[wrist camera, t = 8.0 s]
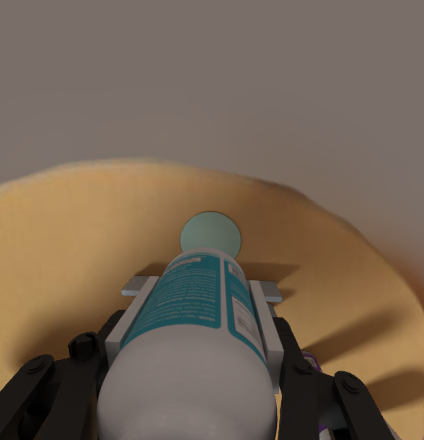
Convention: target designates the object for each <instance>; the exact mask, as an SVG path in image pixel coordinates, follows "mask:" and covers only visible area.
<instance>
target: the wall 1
mask: <svg viewBox="0 0 424 440" xmlns="http://www.w3.org/2000/svg"><path fill="white" fill-rule="evenodd" d="M149 277H150V276H133V277H132V278H131V280H130V281H129V282H128V283H127V284H126V285H125V287H124V288H123V289H122V290H121V291H122V295H126V296H137V294H138V293H139V291H140V290H141V289H142V287H143V286H144V284H145V283H146V281H147V280H148V279H149ZM160 278H161V277H159V280H160ZM246 282H247V286H248V290H249V280H246ZM259 283H260V286H261V288H262V291H263V294H264V297H265V300H266V302H282V298H283V297H282V295H281V293H280V291H279V289H278V287H277V285H276V283H275V281H259Z"/></svg>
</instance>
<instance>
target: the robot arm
mask: <svg viewBox="0 0 424 440" xmlns="http://www.w3.org/2000/svg"><path fill="white" fill-rule="evenodd" d="M158 282H159V276H150V277H149V279H148V280H147V281H146V283H145V284H144V286H143V287H142V289H141V290H140V291H139V293H138V294H137V296H136V297H135V299H134V300H133V302H132V303H131V304H130V306H129V307H128V309H127V310H118V311H117V312H115V313H114V314H113V315H112V316H111V317H110V318H109V319H108V321H107V322H106V323H105V325H104V326H103V327H102V329H101V330H100V331H99V332H98V334H96V333H94V332H86V333H83V334H80V335H79V336H77V337H75V338H74V339H73V340H72V341H71V342H70V343H69V345H68V348H69V354H70V358H67V359H62V360H58V361H54V359H53V357H52V356H51V355H47V354H45V355H40V356H38V357H35V358H33V359H32V360H30V361H28V362H27V363H26V364H25V365H24V366H22V367H21V368H20V370H19V371H18V372H17V373H16V374H15V375H14V376H13V378H12V379H11V380H10V381H9V382H8V383H7V384H6V385H5V387H4V388H3V389H2V390H1V391H0V440H99V436H98V430H97V422H96V413H97V402H98V398H99V394H100V390H101V387H102V384H103V382H104V380H105V377H106V375H107V373H108V371H109V370H110V368H111V366H112V364H113V362H114V360H115V358H116V356H117V355H118V353H119V351H120V349H121V348H122V346H123V344H124V342H125V341H126V339H127V337H128V335H129V334H130V332H131V330H132V328H133V326H134V325H135V323H136V321H137V319H138V317H139V316H140V314H141V312H142V310H143V308H144V307H145V305H146V303H147V301H148V300H149V298H150V296H151V294H152V292H153V291H154V289H155V287H156V285H157V283H158ZM249 294H250V298H251V302H252V306H253V310H254V314H255V318H256V322H257V326H258V330H259V334H260V338H261V342H262V346H263V350H264V354H265V358H266V361H267V366H268V370H269V374H270V378H271V382H272V386H273V390H274V394H279V386H280V390H281V393H282V400H281V408H280V421H279V431H278V440H320V435H319V424H322V425H324V426H326V427H327V428H328V431H329V435H330V438H331V440H395V438H394V436H393V435H392V433H391V431H390V429H389V427H388V425H387V424H386V422H385V420H384V418H383V416H382V415H381V413H380V411H379V409H378V407H377V406H376V404H375V402H374V400H373V398H372V396H371V395H370V393H369V391H368V389H367V388H366V386H365V385H364V383H363V382H362V381H361V380H360V379H358V378H357V377H356V376H354V375H353V374H351V373H348V372H345V371H338V372H336V373H335V375H334V377H333V376H330V375H327V374H324V373H322V372H319V371H317V370H316V369H314V367H313V366H312V365H311V363H310V362H308V361H307V360H306V359H305V358H304V357H303V354H302V352H301V350H300V348H299V346H298V343H297V341H296V339H295V337H294V335H293V332H292V331H291V328H290V326H289V324H288V322H287V321H286V320H285V319H284V318H282V317H272V316H271V314H270V311H269V308H268V305H267V302H266V300H265V297H264V294H263V291H262V288H261V286H260V283H259V281H256V280H249Z"/></svg>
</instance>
